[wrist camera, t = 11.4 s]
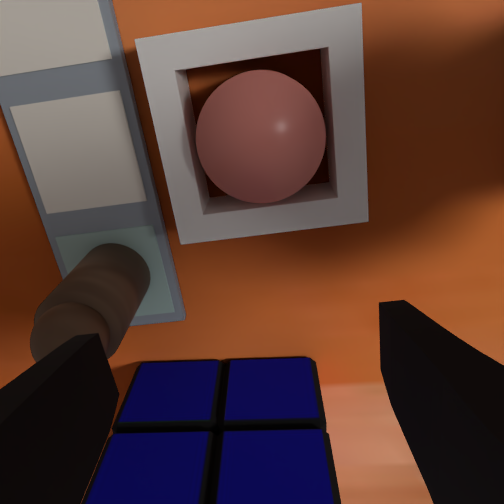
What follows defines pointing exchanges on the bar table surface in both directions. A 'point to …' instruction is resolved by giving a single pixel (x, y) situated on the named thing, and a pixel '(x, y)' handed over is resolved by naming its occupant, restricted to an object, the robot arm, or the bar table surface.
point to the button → (260, 136)
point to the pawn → (93, 300)
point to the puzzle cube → (219, 436)
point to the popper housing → (335, 110)
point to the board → (84, 139)
